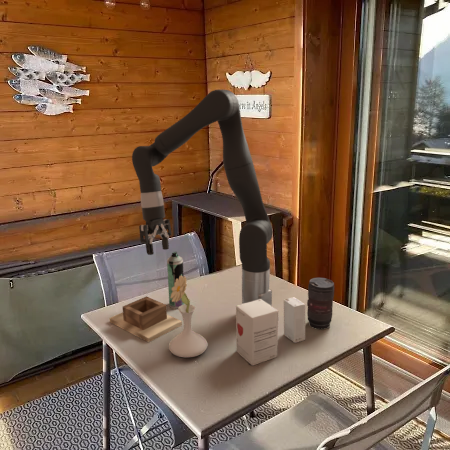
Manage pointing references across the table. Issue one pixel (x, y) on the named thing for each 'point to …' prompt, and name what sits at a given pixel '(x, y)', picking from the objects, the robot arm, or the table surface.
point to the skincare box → (294, 319)
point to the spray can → (174, 276)
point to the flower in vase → (185, 325)
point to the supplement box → (256, 331)
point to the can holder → (146, 319)
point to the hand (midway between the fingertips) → (158, 251)
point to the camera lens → (320, 302)
